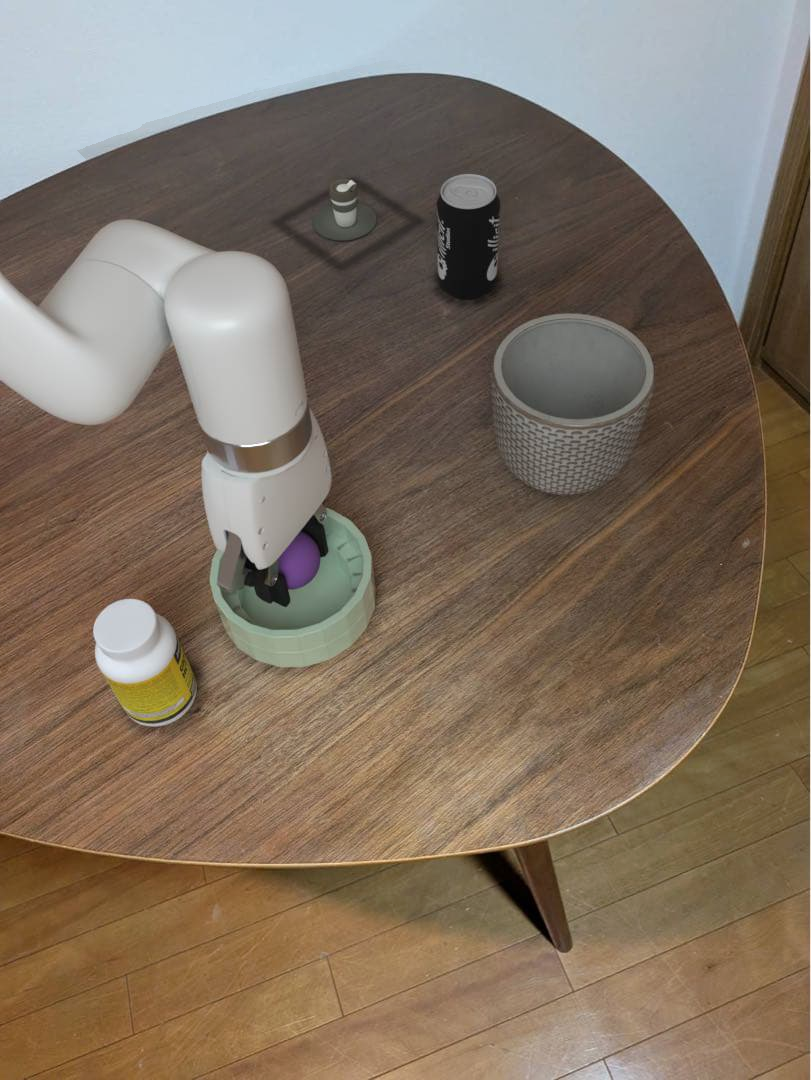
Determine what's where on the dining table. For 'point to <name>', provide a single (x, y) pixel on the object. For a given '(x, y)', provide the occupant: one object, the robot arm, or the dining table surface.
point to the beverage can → (468, 236)
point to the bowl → (306, 605)
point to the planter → (569, 401)
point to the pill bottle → (143, 663)
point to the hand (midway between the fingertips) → (292, 571)
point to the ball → (299, 561)
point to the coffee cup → (344, 214)
